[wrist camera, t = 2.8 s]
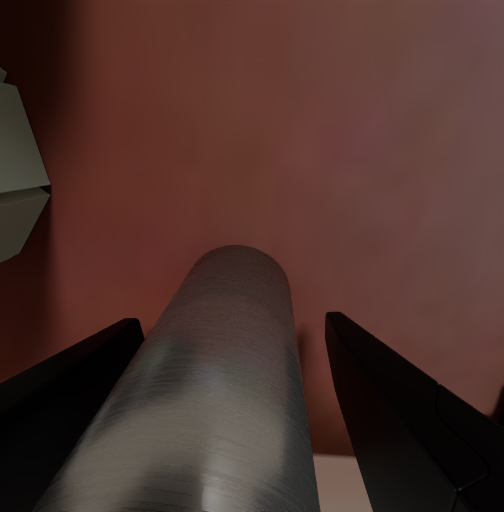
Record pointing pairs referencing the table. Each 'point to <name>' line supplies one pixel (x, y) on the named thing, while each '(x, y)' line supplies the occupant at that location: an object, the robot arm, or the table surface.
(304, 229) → the table surface
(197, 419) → the pin
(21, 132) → the pale green bracket
